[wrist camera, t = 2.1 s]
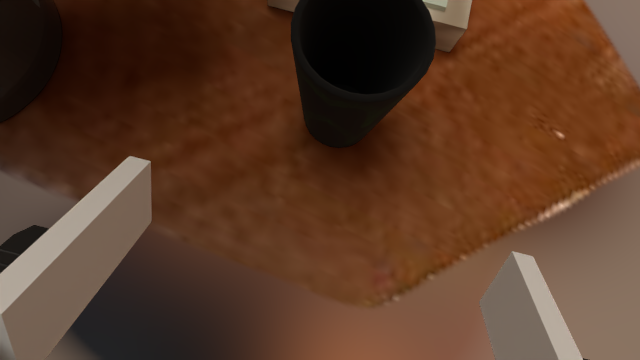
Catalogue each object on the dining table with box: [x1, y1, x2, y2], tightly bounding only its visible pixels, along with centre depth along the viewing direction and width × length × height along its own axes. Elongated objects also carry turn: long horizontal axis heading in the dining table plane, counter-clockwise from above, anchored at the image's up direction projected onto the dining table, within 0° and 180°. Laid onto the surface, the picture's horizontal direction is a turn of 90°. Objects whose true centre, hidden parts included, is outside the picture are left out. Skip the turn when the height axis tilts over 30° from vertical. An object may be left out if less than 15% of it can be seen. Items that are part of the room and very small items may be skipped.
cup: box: [291, 0, 436, 148], centre depth 27 cm, size 8×8×12 cm
